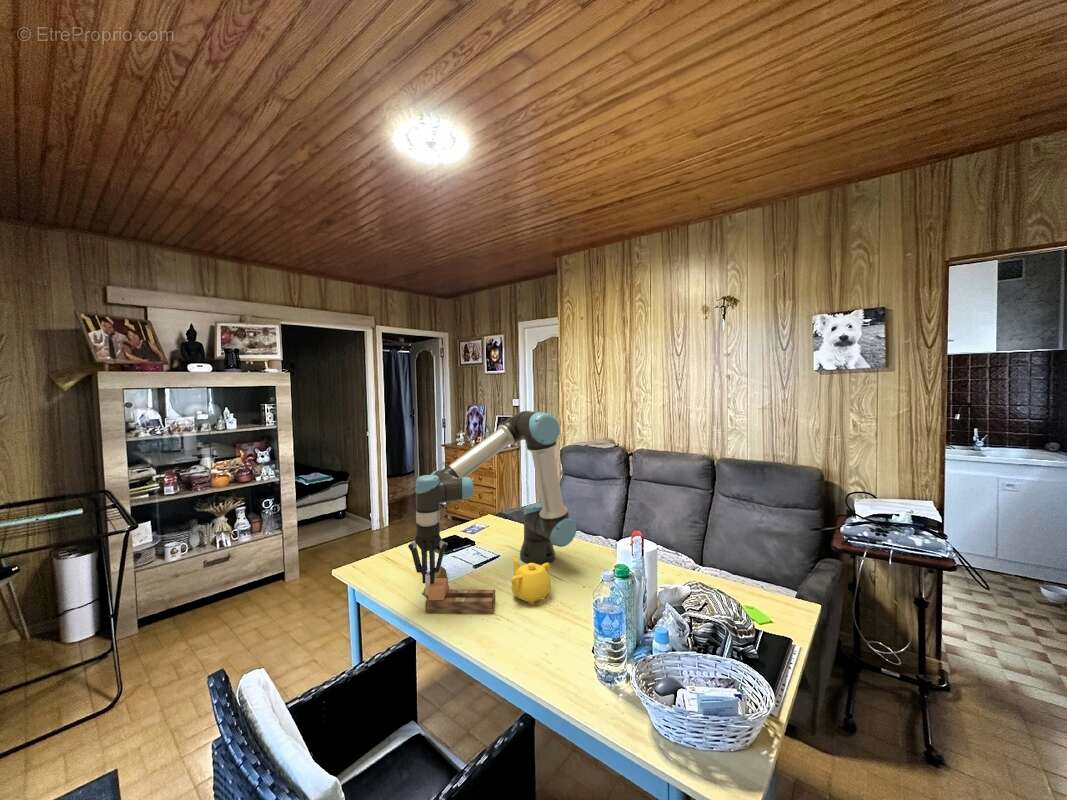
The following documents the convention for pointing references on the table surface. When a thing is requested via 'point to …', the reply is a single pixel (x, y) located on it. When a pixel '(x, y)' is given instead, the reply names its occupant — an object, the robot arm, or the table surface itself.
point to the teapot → (530, 581)
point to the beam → (463, 602)
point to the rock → (441, 574)
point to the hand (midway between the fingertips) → (428, 592)
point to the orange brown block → (438, 589)
